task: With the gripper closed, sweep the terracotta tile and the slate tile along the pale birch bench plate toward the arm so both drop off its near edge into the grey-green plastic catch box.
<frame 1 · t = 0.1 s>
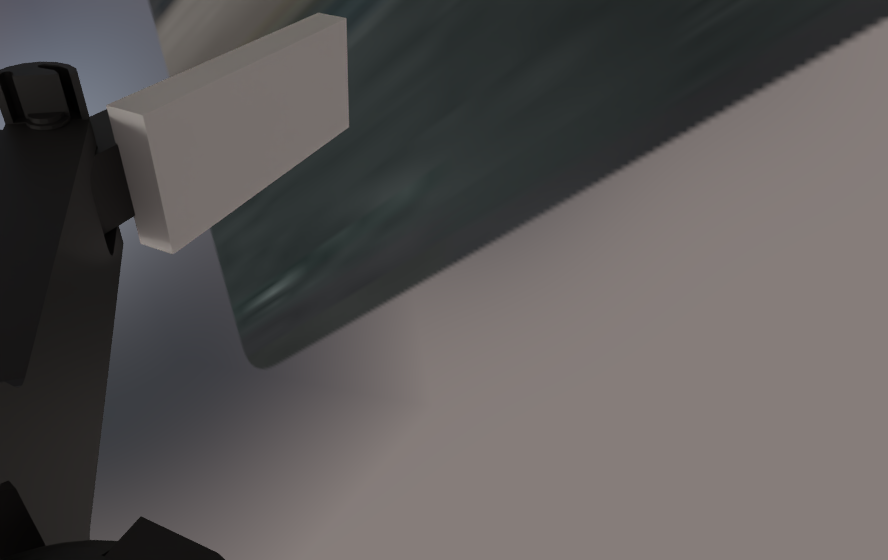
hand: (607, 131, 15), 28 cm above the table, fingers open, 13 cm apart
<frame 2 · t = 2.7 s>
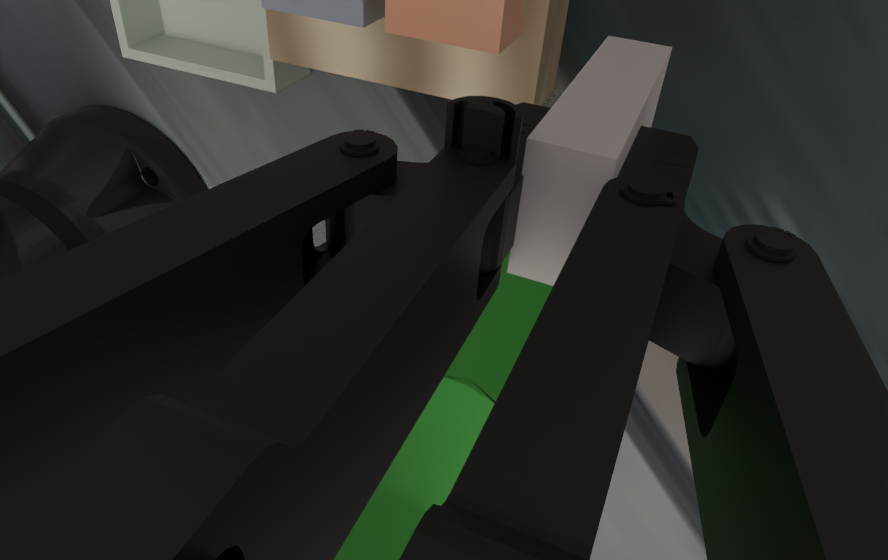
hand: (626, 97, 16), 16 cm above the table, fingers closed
bottle: (544, 256, 39), on the table
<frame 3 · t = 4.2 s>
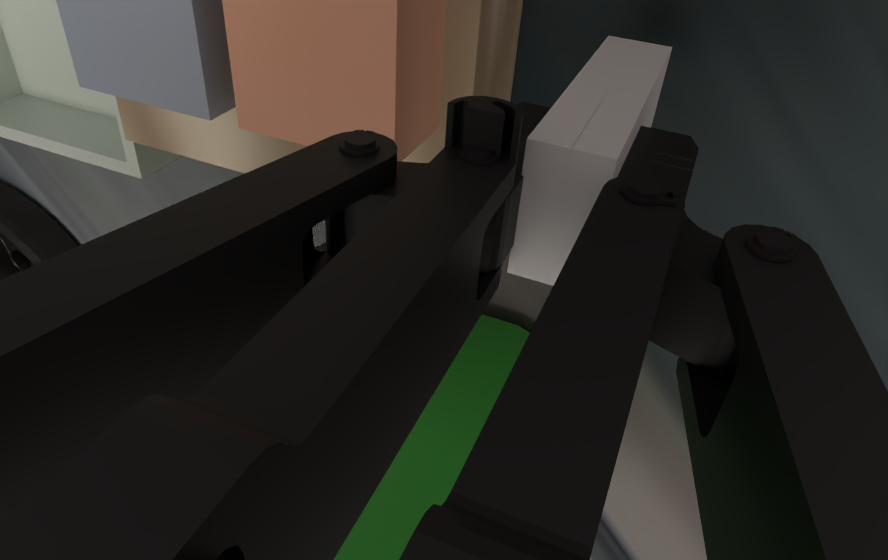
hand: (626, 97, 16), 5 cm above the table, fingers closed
bottle: (497, 378, 31), on the table
tile terracotta: (364, 28, 19), point 4 cm above the table, touching bench plate
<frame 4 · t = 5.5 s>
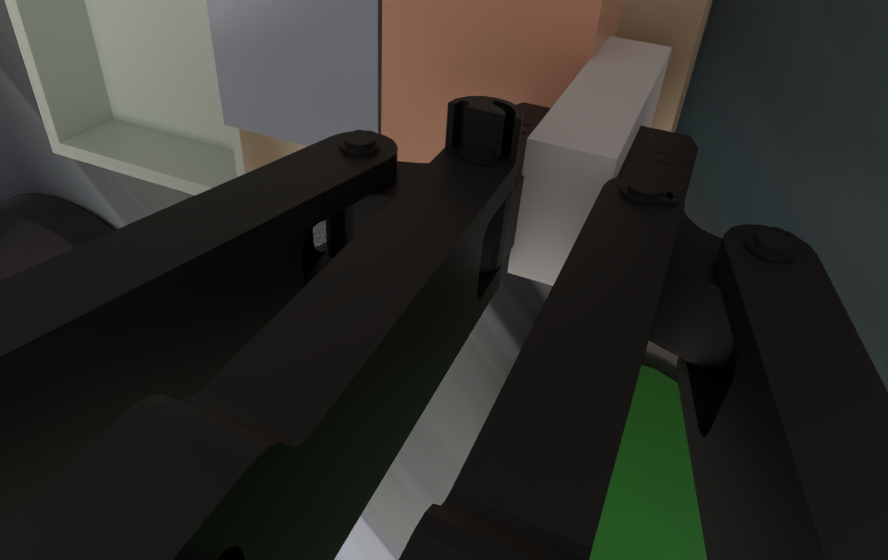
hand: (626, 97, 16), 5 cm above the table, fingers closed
bench plate: (478, 8, 22), on the table
bottle: (617, 419, 29), on the table
tile terracotta: (516, 58, 18), point 4 cm above the table, touching bench plate, gripper
tile slate: (349, 25, 19), point 4 cm above the table, touching bench plate
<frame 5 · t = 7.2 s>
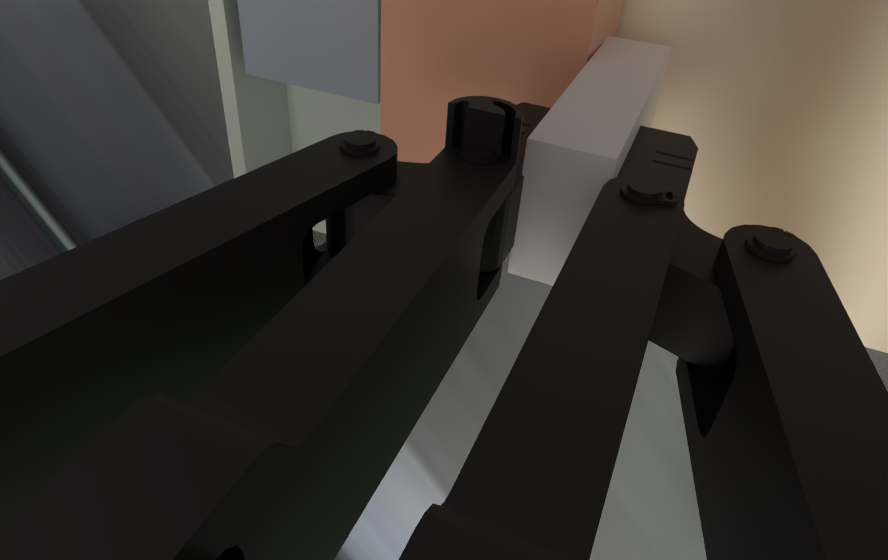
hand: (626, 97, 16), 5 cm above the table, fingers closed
bench plate: (792, 62, 19), on the table
tile terracotta: (516, 55, 18), point 4 cm above the table, touching gripper
tile slate: (304, 8, 20), point 3 cm above the table, tilted 180°, touching catch box
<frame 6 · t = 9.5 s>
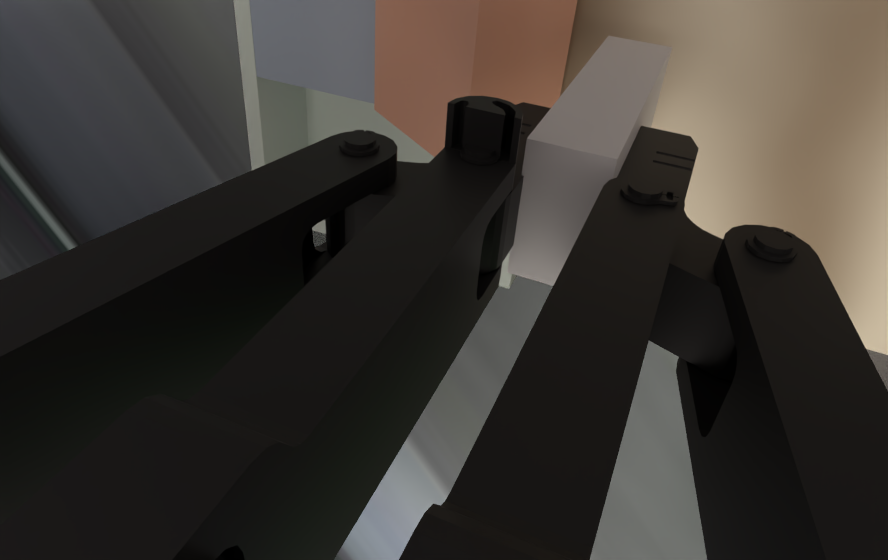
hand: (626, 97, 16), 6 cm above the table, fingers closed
bench plate: (817, 76, 19), on the table
catch box: (425, 2, 23), on the table
tile terracotta: (507, 43, 19), point 3 cm above the table, tilted 35°, touching catch box, tile slate
tile slate: (318, 12, 20), point 3 cm above the table, tilted 180°, touching catch box, tile terracotta
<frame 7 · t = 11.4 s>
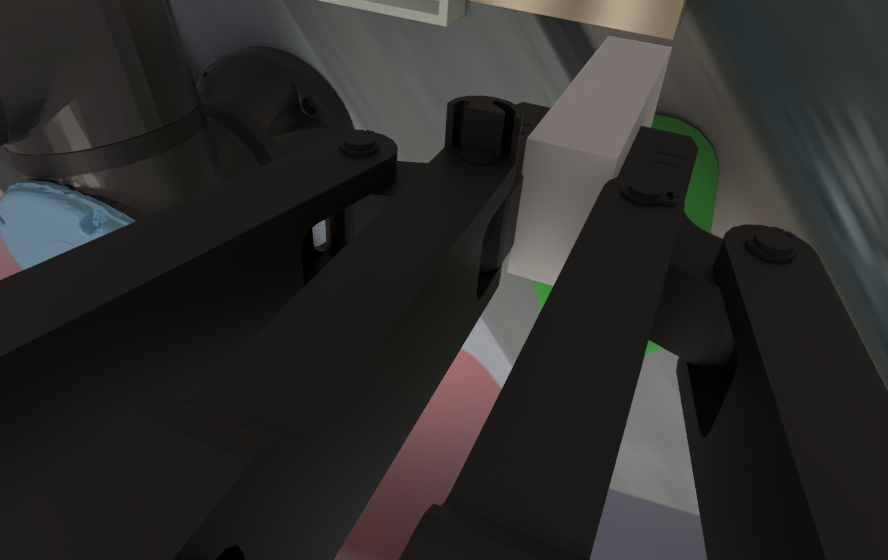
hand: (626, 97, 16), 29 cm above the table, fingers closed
bottle: (653, 169, 48), on the table
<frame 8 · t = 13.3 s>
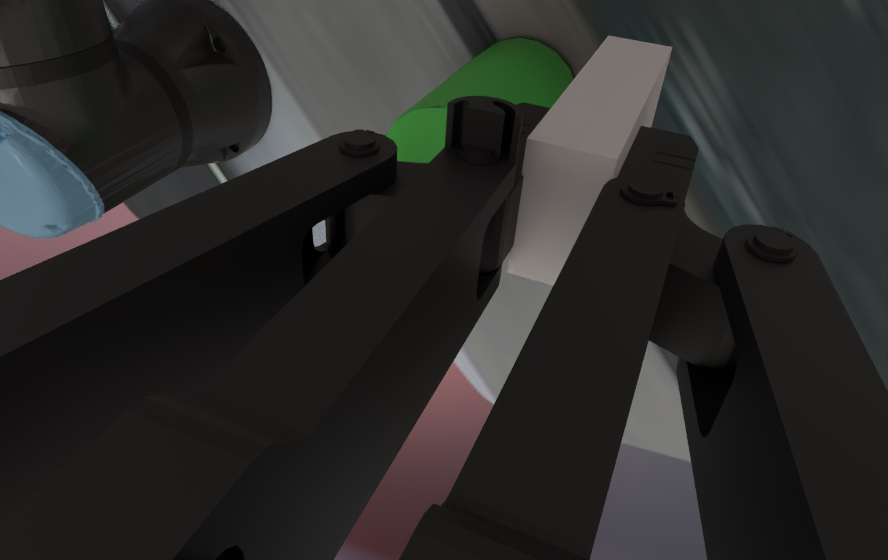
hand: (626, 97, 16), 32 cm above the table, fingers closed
bottle: (524, 92, 52), on the table
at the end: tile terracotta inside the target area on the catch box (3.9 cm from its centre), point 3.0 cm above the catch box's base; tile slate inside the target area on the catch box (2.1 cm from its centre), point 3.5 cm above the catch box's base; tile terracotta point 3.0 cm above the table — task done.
